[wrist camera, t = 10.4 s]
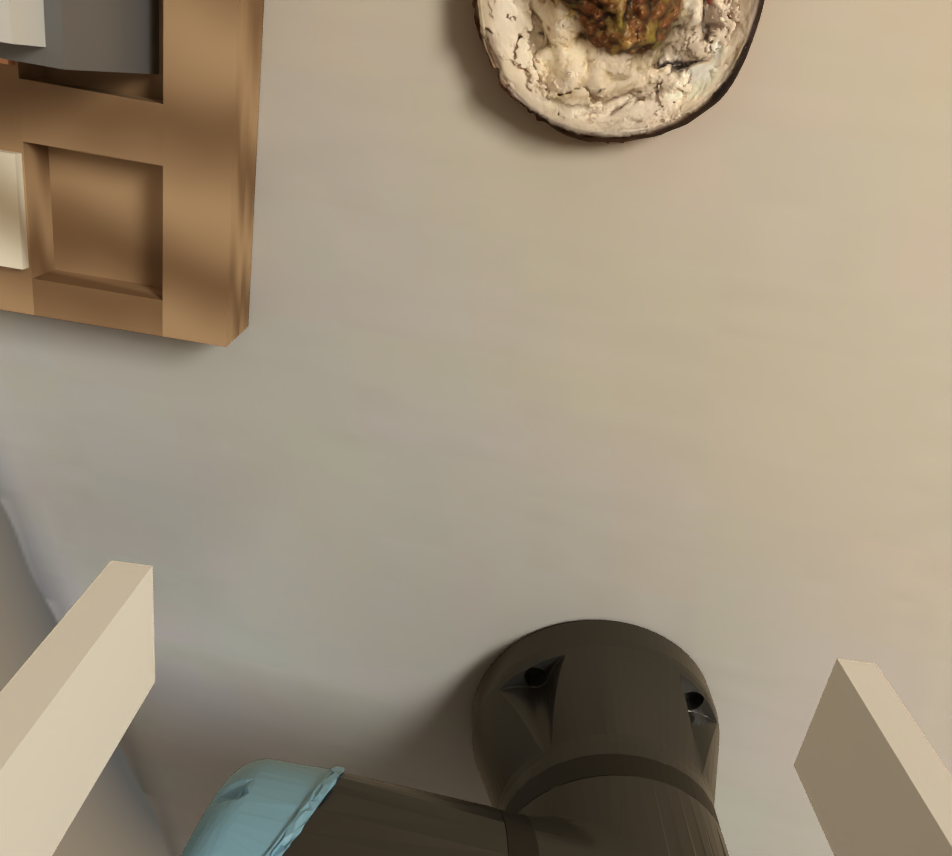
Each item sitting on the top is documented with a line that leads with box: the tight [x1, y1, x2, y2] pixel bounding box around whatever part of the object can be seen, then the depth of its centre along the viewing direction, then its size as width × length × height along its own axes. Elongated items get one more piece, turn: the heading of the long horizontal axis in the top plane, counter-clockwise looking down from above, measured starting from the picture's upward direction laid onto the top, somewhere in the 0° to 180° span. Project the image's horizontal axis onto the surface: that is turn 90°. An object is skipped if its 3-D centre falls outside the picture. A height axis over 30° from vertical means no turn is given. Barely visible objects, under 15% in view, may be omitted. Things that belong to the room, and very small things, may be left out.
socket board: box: [0, 0, 264, 347], centre depth 34 cm, size 18×12×4 cm, turn 171°
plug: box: [0, 0, 159, 74], centre depth 28 cm, size 4×4×10 cm
